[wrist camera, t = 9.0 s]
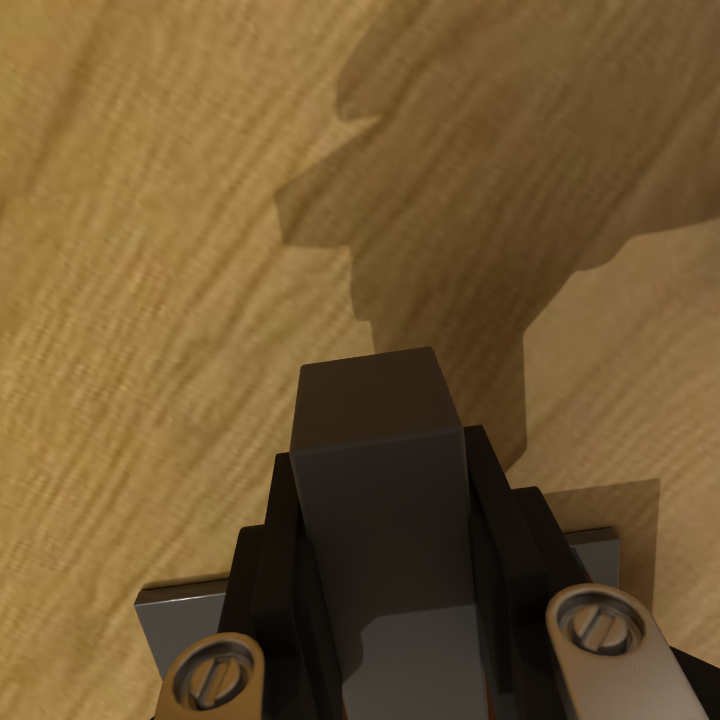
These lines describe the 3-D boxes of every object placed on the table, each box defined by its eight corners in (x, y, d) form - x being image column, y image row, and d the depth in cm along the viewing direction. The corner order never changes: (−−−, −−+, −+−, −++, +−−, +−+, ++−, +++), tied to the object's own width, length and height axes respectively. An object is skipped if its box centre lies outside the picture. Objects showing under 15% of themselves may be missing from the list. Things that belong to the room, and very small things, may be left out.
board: (612, 526, 19) (621, 539, 18) (607, 723, 23) (614, 739, 22) (138, 590, 19) (132, 605, 19) (206, 774, 23) (203, 790, 22)
